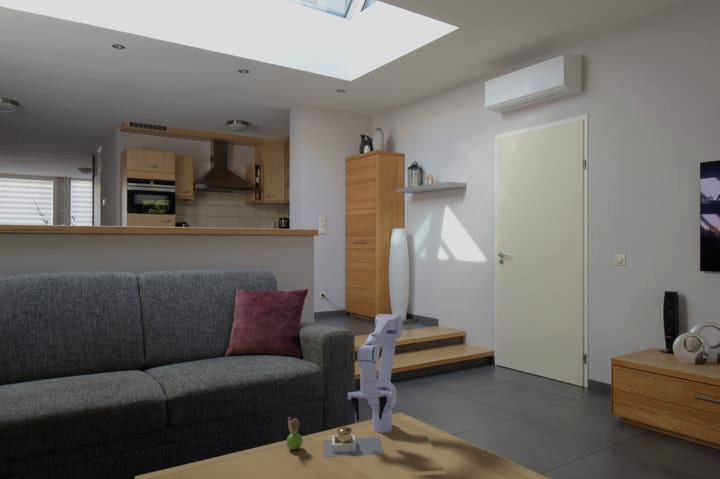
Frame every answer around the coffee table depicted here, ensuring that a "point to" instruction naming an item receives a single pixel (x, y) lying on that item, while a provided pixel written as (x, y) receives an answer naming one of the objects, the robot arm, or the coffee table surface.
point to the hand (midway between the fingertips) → (369, 419)
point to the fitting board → (352, 447)
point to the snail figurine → (294, 435)
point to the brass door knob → (344, 435)
